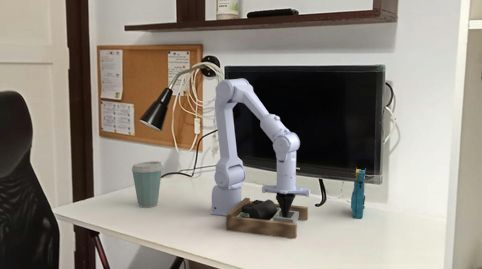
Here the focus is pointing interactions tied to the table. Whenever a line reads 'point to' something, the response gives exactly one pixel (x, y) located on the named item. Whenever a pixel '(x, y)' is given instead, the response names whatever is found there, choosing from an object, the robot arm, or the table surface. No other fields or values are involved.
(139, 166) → the disposable coffee cup
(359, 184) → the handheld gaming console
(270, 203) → the end cap
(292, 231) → the brown wooden frame
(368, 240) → the table surface
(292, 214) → the pull tray
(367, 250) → the table surface
